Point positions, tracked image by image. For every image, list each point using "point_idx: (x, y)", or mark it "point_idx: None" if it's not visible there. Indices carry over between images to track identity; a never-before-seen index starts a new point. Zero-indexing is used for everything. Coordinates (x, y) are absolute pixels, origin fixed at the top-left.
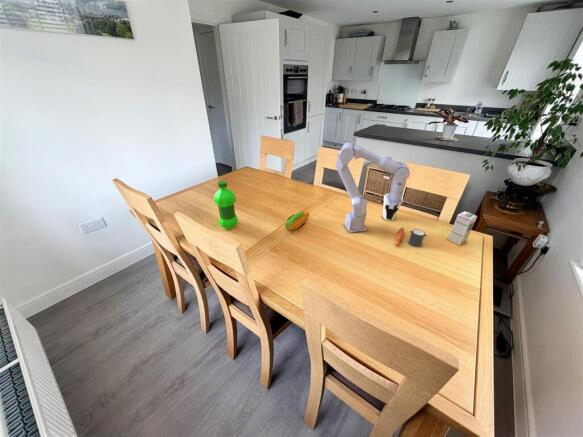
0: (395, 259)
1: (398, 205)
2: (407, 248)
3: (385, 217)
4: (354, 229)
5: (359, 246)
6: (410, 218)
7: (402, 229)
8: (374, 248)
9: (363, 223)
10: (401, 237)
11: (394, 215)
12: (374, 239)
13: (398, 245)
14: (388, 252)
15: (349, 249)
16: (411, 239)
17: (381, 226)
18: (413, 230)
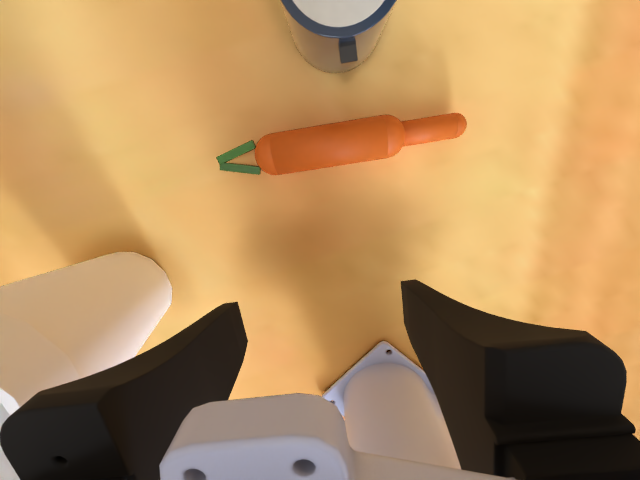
0: (612, 85)
1: (24, 310)
2: (436, 52)
3: (165, 305)
4: (434, 397)
5: (569, 313)
6: (14, 158)
7: (265, 152)
8: (549, 238)
9: (408, 399)
10: (383, 123)
11: (117, 267)
12: (450, 271)
13: (461, 116)
14: (552, 152)
15: (623, 343)
16: (378, 37)
17: (275, 287)
18: (341, 23)
